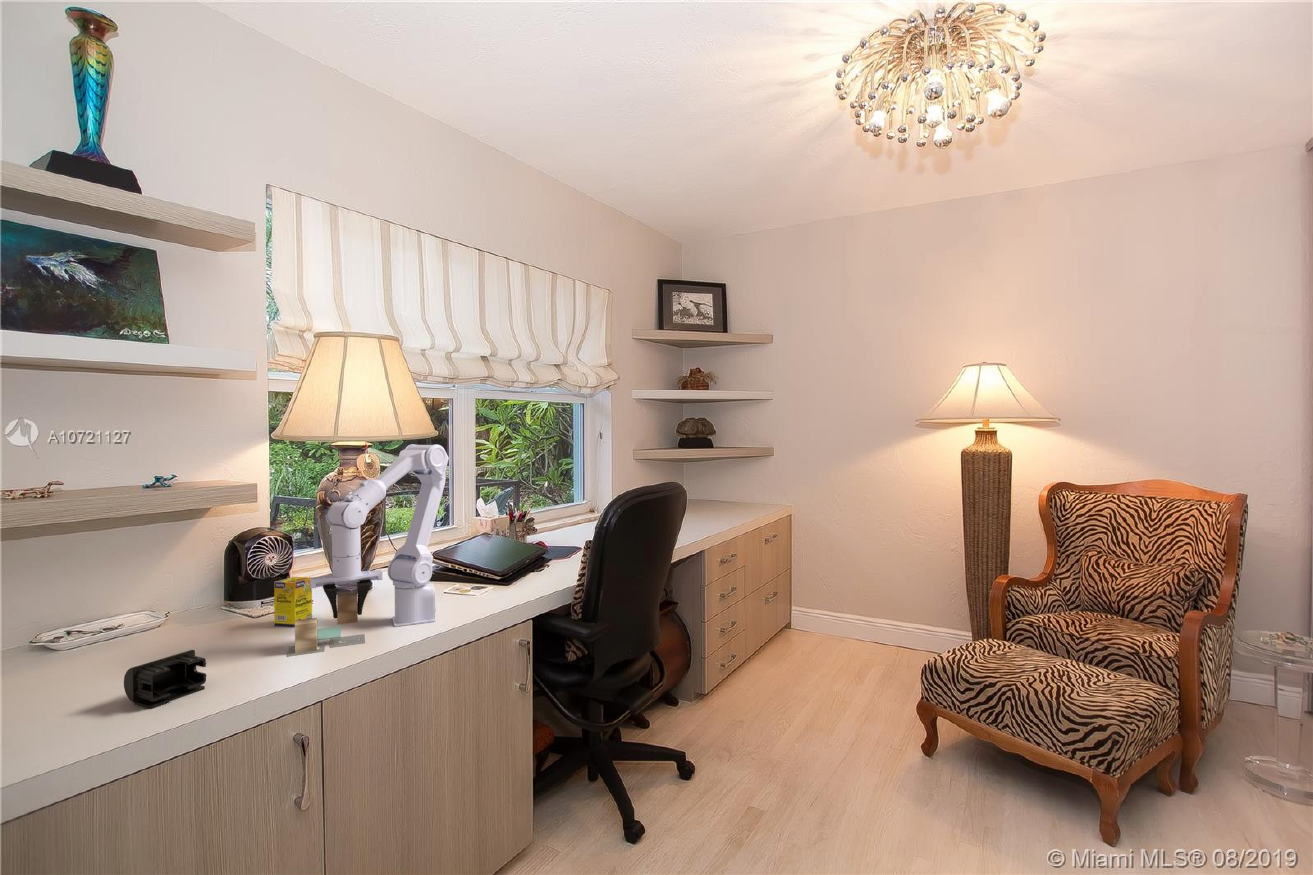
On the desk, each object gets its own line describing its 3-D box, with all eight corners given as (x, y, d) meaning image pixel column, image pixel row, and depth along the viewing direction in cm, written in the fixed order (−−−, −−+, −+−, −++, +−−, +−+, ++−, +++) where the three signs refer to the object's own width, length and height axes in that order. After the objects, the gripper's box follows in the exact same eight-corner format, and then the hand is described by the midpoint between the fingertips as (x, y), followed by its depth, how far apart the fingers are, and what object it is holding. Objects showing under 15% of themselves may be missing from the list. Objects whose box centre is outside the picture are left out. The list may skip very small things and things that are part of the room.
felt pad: (341, 627, 153) (340, 625, 153) (340, 638, 145) (340, 636, 145) (298, 632, 149) (298, 631, 149) (295, 643, 141) (295, 642, 141)
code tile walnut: (364, 634, 147) (364, 633, 147) (365, 643, 141) (365, 643, 141) (330, 639, 144) (330, 638, 144) (329, 648, 138) (329, 647, 138)
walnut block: (357, 617, 145) (357, 591, 145) (357, 622, 142) (357, 595, 142) (337, 619, 144) (337, 593, 143) (337, 624, 140) (337, 597, 140)
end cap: (185, 683, 120) (184, 647, 120) (209, 689, 117) (208, 652, 117) (123, 704, 111) (122, 665, 111) (147, 711, 108) (146, 671, 108)
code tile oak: (325, 642, 142) (325, 641, 142) (324, 652, 136) (324, 651, 136) (289, 647, 139) (289, 646, 139) (286, 657, 133) (286, 656, 133)
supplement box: (295, 628, 153) (294, 582, 153) (273, 626, 154) (273, 581, 154) (313, 620, 159) (312, 577, 159) (292, 619, 160) (291, 576, 160)
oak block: (317, 644, 140) (317, 617, 140) (316, 650, 136) (316, 622, 136) (296, 647, 138) (296, 620, 138) (295, 653, 135) (294, 625, 135)
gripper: (379, 548, 150) (379, 606, 150) (308, 555, 142) (309, 616, 142) (383, 553, 144) (384, 613, 144) (310, 561, 136) (311, 624, 136)
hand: (347, 615), depth 143 cm, fingers closed on walnut block, 4 cm apart
